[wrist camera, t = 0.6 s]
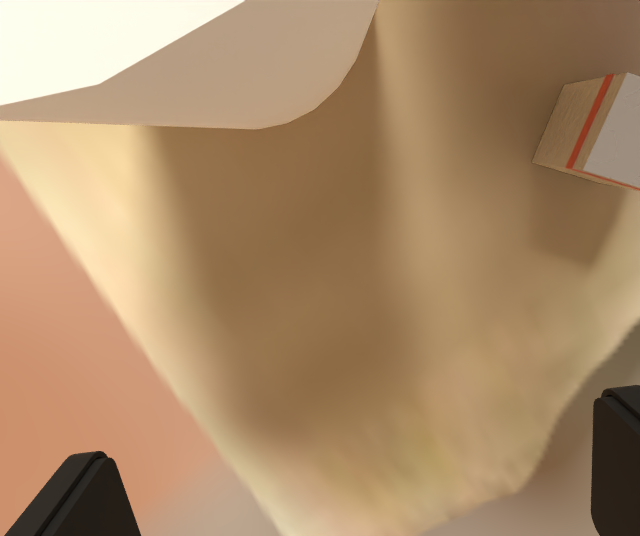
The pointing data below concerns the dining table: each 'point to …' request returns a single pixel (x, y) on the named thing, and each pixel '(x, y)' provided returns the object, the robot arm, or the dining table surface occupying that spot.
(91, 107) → the cylinder
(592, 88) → the cardboard mailer box
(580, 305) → the dining table surface
